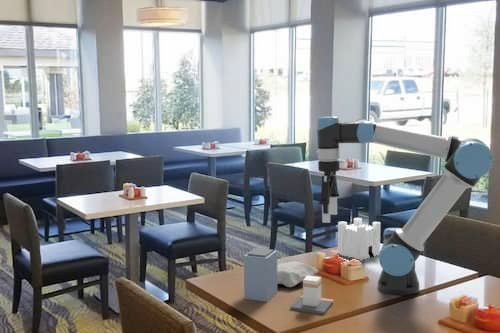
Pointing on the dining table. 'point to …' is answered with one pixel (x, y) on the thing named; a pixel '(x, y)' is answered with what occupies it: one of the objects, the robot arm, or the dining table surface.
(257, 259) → the box
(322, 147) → the robot arm
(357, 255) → the castle model
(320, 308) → the mat
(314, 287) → the cartridge
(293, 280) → the rock
